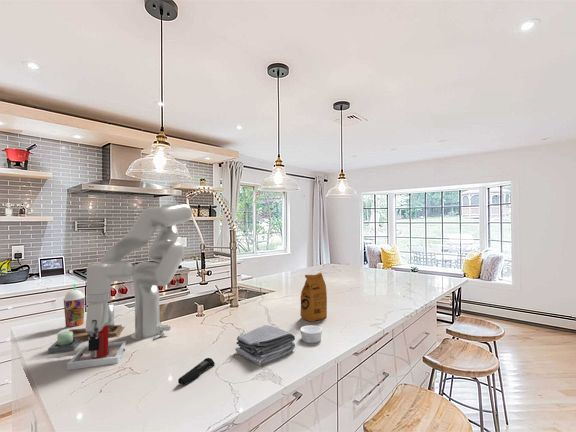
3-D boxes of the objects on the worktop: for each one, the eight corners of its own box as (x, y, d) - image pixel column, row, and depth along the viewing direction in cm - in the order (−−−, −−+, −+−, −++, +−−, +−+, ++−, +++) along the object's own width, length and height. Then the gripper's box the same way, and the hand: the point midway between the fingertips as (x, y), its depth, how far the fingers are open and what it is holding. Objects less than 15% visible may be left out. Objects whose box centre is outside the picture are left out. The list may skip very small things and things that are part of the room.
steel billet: (115, 329, 137) (115, 302, 137) (112, 334, 131) (112, 306, 131) (100, 331, 135) (100, 303, 135) (96, 336, 130) (96, 307, 130)
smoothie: (74, 330, 140) (74, 286, 140) (59, 329, 141) (58, 285, 141) (89, 324, 148) (89, 282, 148) (75, 323, 150) (74, 281, 150)
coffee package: (297, 317, 155) (297, 273, 155) (316, 313, 163) (316, 270, 163) (310, 323, 147) (310, 276, 147) (329, 317, 155) (329, 273, 155)
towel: (296, 351, 117) (296, 330, 117) (257, 367, 105) (257, 344, 105) (271, 339, 128) (270, 320, 128) (233, 353, 116) (232, 332, 116)
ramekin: (324, 336, 130) (324, 326, 131) (319, 345, 122) (319, 334, 122) (303, 334, 133) (303, 324, 133) (297, 342, 125) (297, 331, 125)
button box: (81, 345, 124) (81, 337, 124) (73, 353, 116) (73, 345, 116) (57, 348, 121) (57, 340, 121) (48, 356, 114) (48, 348, 114)
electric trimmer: (174, 387, 93) (174, 376, 93) (206, 363, 108) (206, 354, 108) (184, 389, 92) (184, 379, 92) (215, 365, 106) (215, 356, 106)
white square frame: (126, 346, 123) (126, 341, 123) (117, 363, 108) (117, 357, 108) (82, 351, 118) (82, 345, 118) (67, 369, 104) (67, 363, 104)
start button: (74, 340, 122) (74, 330, 122) (70, 345, 117) (70, 335, 117) (60, 342, 120) (60, 332, 120) (55, 347, 116) (55, 336, 116)
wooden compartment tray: (124, 329, 141) (124, 323, 141) (118, 339, 129) (118, 333, 129) (68, 334, 135) (68, 328, 135) (56, 346, 122) (56, 339, 122)
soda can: (111, 353, 116) (111, 321, 116) (103, 360, 111) (102, 326, 111) (96, 353, 116) (95, 321, 116) (87, 360, 110) (86, 326, 110)
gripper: (94, 293, 120) (93, 337, 120) (78, 304, 104) (77, 356, 103) (115, 291, 122) (115, 335, 122) (103, 302, 106) (103, 353, 106)
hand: (97, 345), depth 113 cm, fingers open, 9 cm apart
